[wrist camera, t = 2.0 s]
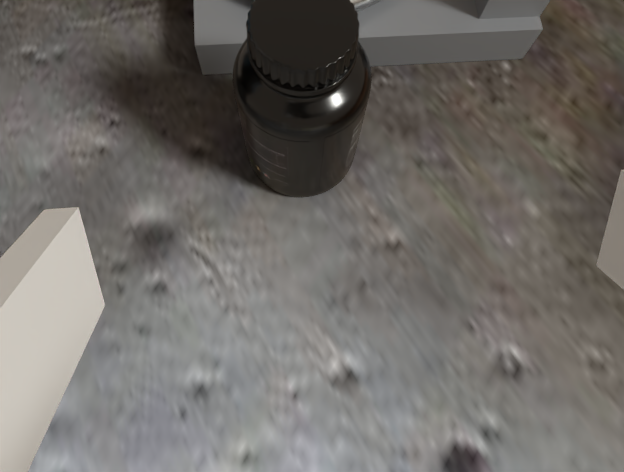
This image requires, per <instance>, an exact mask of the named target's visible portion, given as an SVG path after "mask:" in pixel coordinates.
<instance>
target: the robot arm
mask: <svg viewBox="0 0 624 472" xmlns="http://www.w3.org/2000/svg"><path fill="white" fill-rule="evenodd" d="M596 266H597V267H598V268H600V269H601V270H602V271H603V272H604V273H605V274H606V275H608V276H609V277H610V278H611V279H612V280H613V281H614V282H616V283H617V284H618V285H619V286H620V287H621V288H623V289H624V170H621V173H620V177H619V180H618V184H617V188H616V192H615V196H614V200H613V203H612V207H611V211H610V215H609V219H608V223H607V227H606V230H605V234H604V238H603V242H602V246H601V250H600V254H599V257H598V261H597V265H596ZM104 307H105V303H104V299H103V296H102V292H101V288H100V285H99V281H98V277H97V273H96V270H95V266H94V262H93V259H92V255H91V251H90V248H89V244H88V240H87V237H86V233H85V229H84V226H83V222H82V218H81V215H80V211H79V207H73V208H58V209H44V210H43V212H42V213H41V214H40V215H39V216H38V217H37V218H36V219H35V220H34V221H33V223H32V224H31V225H30V226H29V227H28V228H27V229H26V230H25V231H24V232H23V234H22V235H21V236H20V237H19V238H18V239H17V240H16V241H15V242H14V243H13V245H12V246H11V247H10V248H9V249H8V250H7V251H6V252H5V253H4V254H3V256H2V257H1V258H0V472H28V470H29V468H30V466H31V464H32V461H33V459H34V457H35V455H36V453H37V451H38V449H39V446H40V444H41V442H42V440H43V438H44V436H45V434H46V431H47V429H48V427H49V425H50V423H51V421H52V418H53V416H54V414H55V412H56V410H57V408H58V406H59V403H60V401H61V399H62V397H63V395H64V393H65V390H66V388H67V386H68V384H69V382H70V380H71V378H72V375H73V373H74V371H75V369H76V367H77V365H78V363H79V360H80V358H81V356H82V354H83V352H84V350H85V347H86V345H87V343H88V341H89V339H90V337H91V335H92V332H93V330H94V328H95V326H96V324H97V322H98V319H99V317H100V315H101V313H102V311H103V309H104Z"/></svg>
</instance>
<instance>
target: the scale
mask: <svg viewBox="0 0 624 472" xmlns="http://www.w3.org/2000/svg"><path fill="white" fill-rule="evenodd" d="M549 1H550V0H382V1H380V2H378V3H376V4H374V5H372V6H370V7H368V8H366V9H363V10H360V11H357V13H358V21H359V24H360V27H359V38H358V41H359V42H360V43H361V45H362V46H363V48H364V50H365V52H366V54H367V57H368V59H369V63H370V66H388V65H408V64H428V63H448V62H467V61H487V60H507V59H522V58H523V57H524V56H525V54H526V53H527V51H528V50H529V48H530V47H531V46H532V44H533V43H534V41H535V40H536V38H537V37H538V36H539V34H540V33H541V31H542V30H543V28H542V24H541V20H540V17H539V16H540V15H541V13H542V12H543V10H544V9H545V7H546V6H547V4H548V3H549ZM253 2H254V1H253V0H194V36H195V48H196V52H197V56H198V59H199V63H200V67H201V70H202V74H203V75H209V74H229V73H233V66H234V62H235V58H236V55H237V53H238V51H239V49H240V47H241V45H242V44H243V42H244V41H245V40H246V38H247V29H246V22H247V19H248V17H247V14H248V12H249V10H250V9H251V4H252V3H253Z"/></svg>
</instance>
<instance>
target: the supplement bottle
mask: <svg viewBox="0 0 624 472" xmlns="http://www.w3.org/2000/svg"><path fill="white" fill-rule="evenodd" d="M247 17H248V19H247V22H246V29H247V38H246V40H245V41H244V42H243V44H242V45H241V47H240V49H239V51H238V53H237V55H236V58H235V62H234V66H233V87H234V93H235V98H236V103H237V107H238V112H239V117H240V121H241V126H242V131H243V135H244V140H245V145H246V149H247V153H248V157H249V161H250V163H251V166H252V168H253V170H254V172H255V173H256V175H257V176H258V177H259V178H260V180H261V181H262V182H263V183H265V184H266V185H267V186H268V187H270V188H271V189H273V190H275V191H277V192H279V193H282V194H285V195H288V196H294V197H309V196H315V195H318V194H321V193H324V192H326V191H328V190H330V189H331V188H333V187H334V186H336V185H337V184H338V183H339V182H340V181H341V180H342V179H343V178H344V177H345V175H346V174H347V172H348V171H349V169H350V167H351V165H352V162H353V159H354V155H355V152H356V148H357V143H358V139H359V135H360V131H361V127H362V123H363V119H364V115H365V111H366V106H367V102H368V98H369V94H370V88H371V67H370V63H369V59H368V57H367V54H366V52H365V50H364V48H363V46H362V45H361V43H360V42H359V41H358V38H359V27H360V24H359V21H358V13H357V12H356V10H355V7H354V4H353V3H352V2H350V0H255V1H254V2H253V3H252V4H251V9H250V10H249V12H248V14H247Z"/></svg>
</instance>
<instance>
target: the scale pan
mask: <svg viewBox="0 0 624 472" xmlns="http://www.w3.org/2000/svg"><path fill="white" fill-rule="evenodd" d="M253 1H255V0H253ZM380 1H382V0H350V2H352V3H353V4H354V7H355V10H356V12H357V11H360V10H363V9H366V8H368V7H370V6H372V5H374V4H376V3H378V2H380Z"/></svg>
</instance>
